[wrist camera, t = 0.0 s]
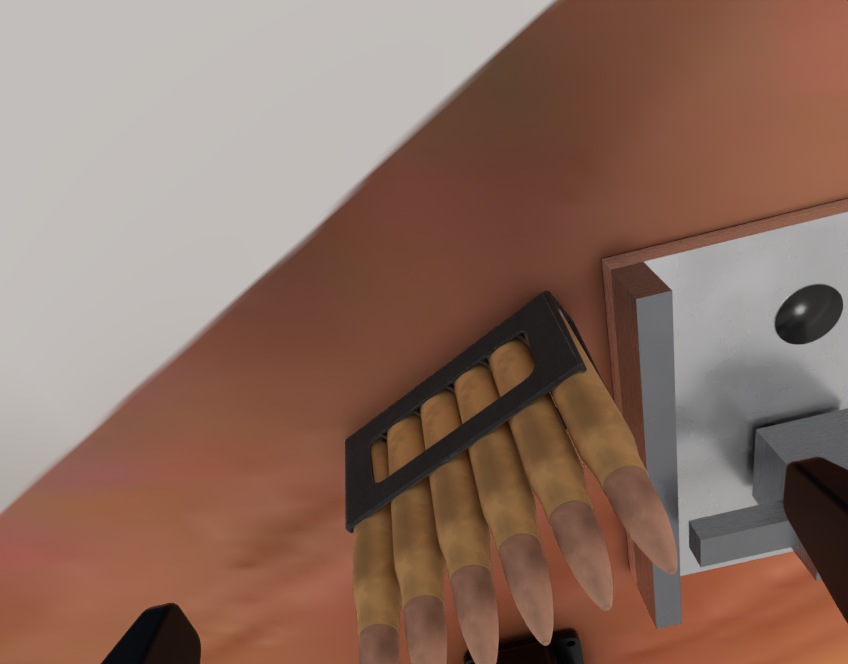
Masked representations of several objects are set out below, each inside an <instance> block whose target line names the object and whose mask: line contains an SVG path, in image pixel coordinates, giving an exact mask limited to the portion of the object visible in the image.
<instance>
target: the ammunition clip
mask: <svg viewBox="0 0 848 664" xmlns="http://www.w3.org/2000/svg"><path fill="white" fill-rule="evenodd" d="M549 391H550V393H551V395H552V397H553V399H554V402H555V404H556V406H557V408H556V406H555V404H554V402H553V400H552V397H551V395H550V393H549ZM566 429H567V430H568V432H569V434H570V436H571V438H572V440H573V443H574V445H575V447H576V449H577V451H578V453H579V455H580V456H581V458H582V460H583V461H584V463H585V464H586V465H587V466H588V468H589V469H590V470H591V471H592V472H593V474H594V475H595V476H596V478H597V480H598V482H599V484H600V486H601V488H602V489H603V491H604V493H605V495H607V497H608V499H609V501H610V503H611V505H612V507H613V509H614V511H615V513H616V514H617V516H618V518H619V519H620V521H621V522H622V524H623V526H624V527H625V529H626V530H627V532H628V533H629V535H630V536H631V538H632V539H633V540H634V542H635V543H636V544H637V545H638V547H639V548H640V549H641V550H642V551H643V552H644V554H645V555H646V556H647V557H648V558H649V559H650V560H651V561H652V562H653V563H654V564H655V565H656V566H658V567H659V568H660V569H661V570H663V571H664V572H666V573H667V574H670V575H673V574H675V573H676V571H677V550H676V544H675V540H674V536H673V532H672V528H671V525H670V522H669V519H668V516H667V514H666V511H665V509H664V506H663V504H662V502H661V499H660V497H659V495H658V493H657V492H656V490H655V488H654V486H653V484H652V482H651V480H650V479H649V475H648V473H647V471H646V469H645V467H644V465H643V463H642V461H641V459H640V457H639V454H638V450H637V446H636V443H635V439H634V436H633V434H632V432H631V431H630V429H629V427H628V425H627V423H626V421H625V420H624V418H623V416H622V415H621V413H620V411H619V409H618V408H617V406H616V404H615V403H614V401H613V399H612V398H611V396H610V394H609V392H608V390H607V388H606V386H605V384H604V382H603V380H602V378H601V376H600V374H599V372H598V370H597V368H596V366H595V364H594V362H593V360H592V358H591V356H590V354H589V352H588V350H587V348H586V346H585V344H584V342H583V340H582V338H581V336H580V334H579V332H578V330H577V328H576V326H575V324H574V322H573V320H572V319H571V318H570V317H569V315H568V314H567V313H566V312H565V311H564V309H563V308H562V307H561V306H560V305H559V303H558V302H557V301H556V300H555V299H554V297H553V296H552V295H551V294H550V293H549V292H547V293H541V294H540V295H539V296H537V297H536V298H535V299H533V300H532V301H531V302H529V303H528V304H527V305H525V306H524V307H523V308H521V309H520V310H519V311H517V312H516V313H515V314H513V315H512V316H511V317H509V318H508V319H507V320H505V321H504V322H503V323H501V324H500V325H499V326H497V327H496V328H495V329H493V330H492V331H491V332H489V333H488V334H487V335H485V336H484V337H483V338H481V339H480V340H479V341H477V342H476V343H475V344H473V345H472V346H471V347H469V348H468V349H467V350H465V351H464V352H463V353H461V354H460V355H459V356H457V357H456V358H455V359H453V360H452V361H451V362H449V363H448V364H447V365H445V366H444V367H443V368H441V369H440V370H439V371H437V372H436V373H435V374H433V375H432V376H431V377H429V378H428V379H427V380H425V381H424V382H423V383H421V384H420V385H419V386H417V387H416V388H415V389H413V390H412V391H411V392H409V393H408V394H407V395H405V396H404V397H403V398H401V399H400V400H399V401H397V402H396V403H395V404H393V405H392V406H391V407H389V408H388V409H387V410H385V411H384V412H383V413H381V414H380V415H379V416H377V417H376V418H375V419H373V420H372V421H371V422H369V423H368V424H367V425H365V426H364V427H363V428H361V429H360V430H359V431H357V432H356V433H355V434H353V435H352V436H351V437H349V438H348V439H347V440H346V441H345V487H346V530H347V531H349V532H350V533H353V527H354V556H353V597H354V602H355V607H356V612H357V620H358V638H359V664H399V661H400V657H399V635H400V608H401V601H402V608H403V612H404V619H405V632H406V639H407V645H408V650H409V656H410V660H411V664H446V663H447V629H446V619H445V610H444V609H445V598H444V575H445V561H446V564H447V569H448V575H449V580H450V584H451V586H452V592H453V598H454V603H455V608H456V612H457V616H458V620H459V623H460V627H461V631H462V634H463V637H464V639H465V642H466V645H467V647H468V649H469V652H470V654H471V656H472V658H473V660H474V662H475V664H496V662H497V656H498V643H499V621H498V610H497V601H496V596H495V590H494V585H493V580H492V578H493V574H492V568H491V562H490V534H489V528H490V530H491V532H492V534H493V537H494V540H495V544H496V547H497V551H498V554H499V556H500V558H501V561H502V565H503V569H504V573H505V577H506V580H507V583H508V586H509V588H510V591H511V594H512V597H513V599H514V601H515V604H516V606H517V608H518V610H519V612H520V614H521V616H522V618H523V619H524V621H525V623H526V625H527V627H528V628H529V629H530V631H531V632H532V634H533V635H534V636H535V637H536V639H537V640H538V641H539V642H540V643H541V644H542V645H544V646H547V645H549V644H550V642H551V638H552V633H553V625H554V611H553V597H552V588H551V582H550V577H549V571H548V566H547V563H546V559H545V556H544V552H543V549H542V542H541V538H540V534H539V530H538V526H537V521H536V508H535V500H534V496H533V493H532V490H533V492H534V493H535V495H536V496H537V498H538V499H539V501H540V502H541V504H542V506H543V509H544V511H545V514H546V516H547V519H548V521H549V524H550V525H551V526H552V529H553V531H554V534H555V537H556V540H557V542H558V545H559V547H560V549H561V552H562V554H563V556H564V558H565V560H566V562H567V564H568V566H569V568H570V569H571V571H572V573H573V574H574V576H575V578H576V579H577V581H578V582H579V584H580V585H581V586H582V588H583V589H584V591H585V592H586V594H587V595H588V596H589V597H590V598H591V600H592V601H593V602H594V603H595V604H596V605H597V606H598V607H599V608H601V609H602V610H604V611H609V610H610V609H611V608H612V603H613V581H612V573H611V566H610V560H609V556H608V552H607V548H606V545H605V541H604V538H603V534H602V532H601V529H600V526H599V524H598V522H597V519H596V517H595V514H594V509H593V506H592V503H591V501H590V498H589V495H588V493H587V490H586V484H585V478H584V472H583V468H582V466H581V463H580V461H579V459H578V456H577V454H576V452H575V450H574V447H573V445H572V443H571V440H570V438H569V436H568V434H567V431H566ZM530 486H531V487H530ZM531 488H532V490H531ZM488 526H489V528H488Z"/></svg>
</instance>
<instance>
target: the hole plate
mask: <svg viewBox="0 0 848 664" xmlns="http://www.w3.org/2000/svg"><path fill="white" fill-rule="evenodd" d="M601 260H602V271H603V282H604V293H605V304H606V315H607V326H608V337H609V348H610V359H611V370H612V381H613V392H614V403H615V404H616V406H617V408H618V409H619V411H620V413H621V415H622V416H623V418H624V420H625V421H626V423H627V425H628V427H629V429H630V431H631V432H632V434H633V436H634V439H635V443H636V446H637V450H638V454H639V457H640V459H641V461H642V463H643V465H644V467H645V469H646V471H647V473H648V475H649V479H650V480H651V482H652V484H653V486H654V488H655V490H656V492H657V493H658V495H659V497H660V499H661V502H662V504H663V506H664V509H665V511H666V514H667V516H668V519H669V522H670V525H671V528H672V532H673V536H674V540H675V544H676V550H677V571H676V573H675V574H673V575H670V574H667V573H666V572H664V571H663V570H661V569H660V568H659V567H658V566H656V565H655V564H654V563H653V562H652V561H651V560H650V559H649V558H648V557H647V556H646V555H645V554H644V552H643V551H642V550H641V549H640V548H639V547H638V545H637V544H636V543H635V542H634V540H633V539H632V538H631V536H630V535H629V533H628V532H627V530H626V534H627V545H628V556H629V567H630V571H631V573H632V576H633V578H634V580H635V582H636V585H637V587H638V589H639V591H640V593H641V596H642V598H643V600H644V602H645V604H646V607H647V609H648V611H649V613H650V615H651V618H652V620H653V622H654V624H655V627H656V629H658V628H663V627H667V626H672V625H677V624H681V623H682V618H681V582H680V576H683V575H688V574H692V573H697V572H701V571H706V570H710V569H715V568H719V567H724V566H728V565H733V564H737V563H742V562H746V561H751V560H755V559H760V558H764V557H769V556H773V555H778V554H782V553H787V552H791V551H793V549H792V548H791V547H790V548H785V549H781V550H776V551H772V552H767V553H763V554H758V555H754V556H749V557H745V558H740V559H736V560H731V561H727V562H722V563H718V564H713V565H709V566H705V567H700V565H699V564H698V562H697V560H696V558H695V557H694V555H693V553H692V552H691V550H690V548H689V520H694V519H698V518H703V517H707V516H712V515H716V514H720V513H725V512H729V511H734V510H738V509H743V508H747V507H751V506H756V505H759V504H758V503H757V502H756V500H755V499H754V498H753V496H752V489H753V471H754V453H755V436H756V429H760V428H764V427H769V426H773V425H777V424H782V423H786V422H790V421H795V420H799V419H803V418H808V417H812V416H816V415H821V414H825V413H829V412H834V411H838V410H842V409H847V408H848V199H844V200H840V201H836V202H832V203H828V204H824V205H819V206H815V207H811V208H807V209H803V210H799V211H795V212H791V213H787V214H783V215H779V216H775V217H771V218H766V219H762V220H758V221H754V222H750V223H746V224H742V225H738V226H734V227H730V228H726V229H722V230H718V231H713V232H709V233H705V234H701V235H697V236H693V237H689V238H685V239H681V240H677V241H673V242H669V243H665V244H660V245H656V246H652V247H648V248H644V249H640V250H636V251H632V252H628V253H624V254H620V255H616V256H612V257H607V258H603V259H601Z"/></svg>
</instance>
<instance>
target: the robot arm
mask: <svg viewBox="0 0 848 664" xmlns="http://www.w3.org/2000/svg"><path fill="white" fill-rule="evenodd" d="M783 508H784V511H785V514H786V517H787V519H788V521H789V523H790V524H791V526H792V528H793V530H794V531H795V533H796V535H797V537H798V538H799V540H800V542H801V544H802V545H803V547H804V549H805V551H806V552H807V554H808V556H809V558H810V559H811V561H812V563H813V565H814V566H815V568H816V570H817V572H818V573H819V575H820V577H821V579H822V581H823V582H824V584H825V586H826V588H827V589H828V591H829V593H830V595H831V596H832V598H833V600H834V602H835V603H836V605H837V607H838V608H839V610H840V612H841V613H842V615H843V617H844V618H845V620H846V622H847V623H848V469H846V468H844V467H842V466H840V465H838V464H836V463H834V462H832V461H830V460H828V459H825V458H823V457H819V456H813V457H808V458H803V459H799V460H795V461H791V462H789V464H788V465H787V467H786V472H785V482H784V493H783ZM200 657H201V644H200V639H199V636H198V634H197V632H196V630H195V629H194V628H193V626H192V625H191V623H190V622H189V620H188V619H187V617H186V616H185V614H184V613H183V611H182V610H181V609H180V607H179V606H178V605H176V604H174V603H167V604H163V605H158V606H154V607H150V608H148V609H146V610H145V611H144V612H143V613H142V614H141V615H140V616H139V617H138V619H137V620H136V621H135V622H134V623H133V625H132V626H131V627H130V628H129V630H128V631H127V632H126V633H125V635H124V636H123V637H122V638H121V639H120V641H119V642H118V643H117V644H116V646H115V647H114V648H113V649H112V650H111V652H110V653H109V654H108V655H107V657H106V658H105V659H104V660H103V662H102V663H101V664H200ZM464 664H475V662H474V660H473V658H472V656H471V654H470V653H469V654H467V655H465V657H464ZM496 664H584V662H583V656H582V651H581V645H580V640H579V637H578V634H577V633H576V632H574V631H568V632H563V633H559V634H554V635H552V638H551V642H550V644H549V645H547V646H544V645H542V644H541V643H540V642H539V641H538V640H537V639H531V640H527V641H522V642H518V643H513V644H509V645H504V646H500V647H498V656H497V662H496Z"/></svg>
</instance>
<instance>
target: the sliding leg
mask: <svg viewBox="0 0 848 664" xmlns="http://www.w3.org/2000/svg"><path fill="white" fill-rule="evenodd" d="M813 456H819V457H823V458H825V459H828V460H830V461H832V462H834V463H836V464H838V465H840V466H842V467H844V468H846V469H848V408H847V409H842V410H838V411H834V412H829V413H825V414H821V415H816V416H812V417H808V418H803V419H799V420H795V421H790V422H786V423H782V424H777V425H773V426H769V427H764V428H760V429H756V436H755V453H754V471H753V489H752V496H753V498H754V499H755V500H756V502H757V503H758V504H759V505H756V506H751V507H747V508H743V509H738V510H734V511H729V512H725V513H720V514H716V515H712V516H707V517H703V518H698V519H694V520H689V548H690V550H691V552H692V553H693V555H694V557H695V558H696V560H697V562H698V564H699V565H700V567H705V566H709V565H713V564H718V563H722V562H727V561H731V560H736V559H740V558H745V557H749V556H754V555H758V554H763V553H767V552H772V551H776V550H781V549H785V548H790V547H791V548H792V549H793V551H794V552H795V553H796V555H797V556H798V557H799V558H800V560H801V561H802V562H803V564H804V565H805V566H806V568H807V569H808V570H809V572H810V573H811V574H812V576H813V577H814V578H815V580H820V579H821V577H820V575H819V573H818V572H817V570H816V568H815V566H814V565H813V563H812V561H811V559H810V558H809V556H808V554H807V552H806V551H805V549H804V547H803V545H802V544H801V542H800V540H799V538H798V537H797V535H796V533H795V531H794V530H793V528H792V526H791V524H790V523H789V521H788V519H787V517H786V514H785V511H784V508H783V493H784V482H785V472H786V467H787V465H788V464H789V462H791V461H795V460H799V459H803V458H808V457H813Z"/></svg>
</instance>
